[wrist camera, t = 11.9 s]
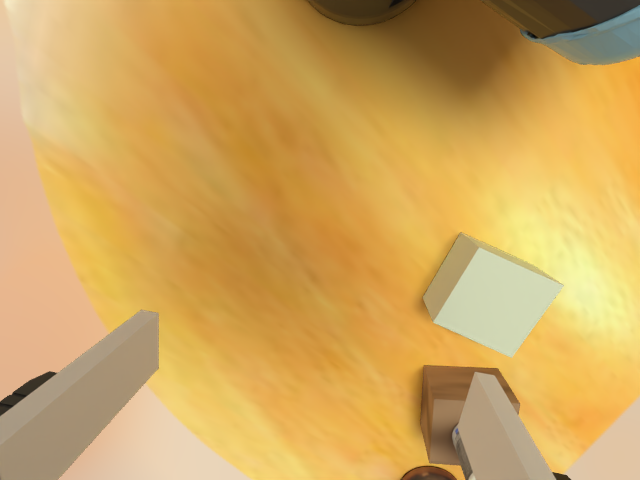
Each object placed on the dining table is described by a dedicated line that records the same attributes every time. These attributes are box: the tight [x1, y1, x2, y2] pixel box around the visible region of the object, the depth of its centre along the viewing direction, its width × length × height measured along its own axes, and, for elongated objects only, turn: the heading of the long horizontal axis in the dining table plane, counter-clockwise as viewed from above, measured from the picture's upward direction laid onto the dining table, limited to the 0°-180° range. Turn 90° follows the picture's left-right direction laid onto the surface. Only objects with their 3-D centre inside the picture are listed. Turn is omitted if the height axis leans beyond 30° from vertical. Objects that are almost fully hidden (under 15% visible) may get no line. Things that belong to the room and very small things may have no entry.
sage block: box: [423, 232, 564, 358], centre depth 37 cm, size 9×9×6 cm
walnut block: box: [420, 365, 520, 465], centre depth 41 cm, size 9×9×6 cm
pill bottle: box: [452, 425, 476, 480], centre depth 34 cm, size 5×5×8 cm
